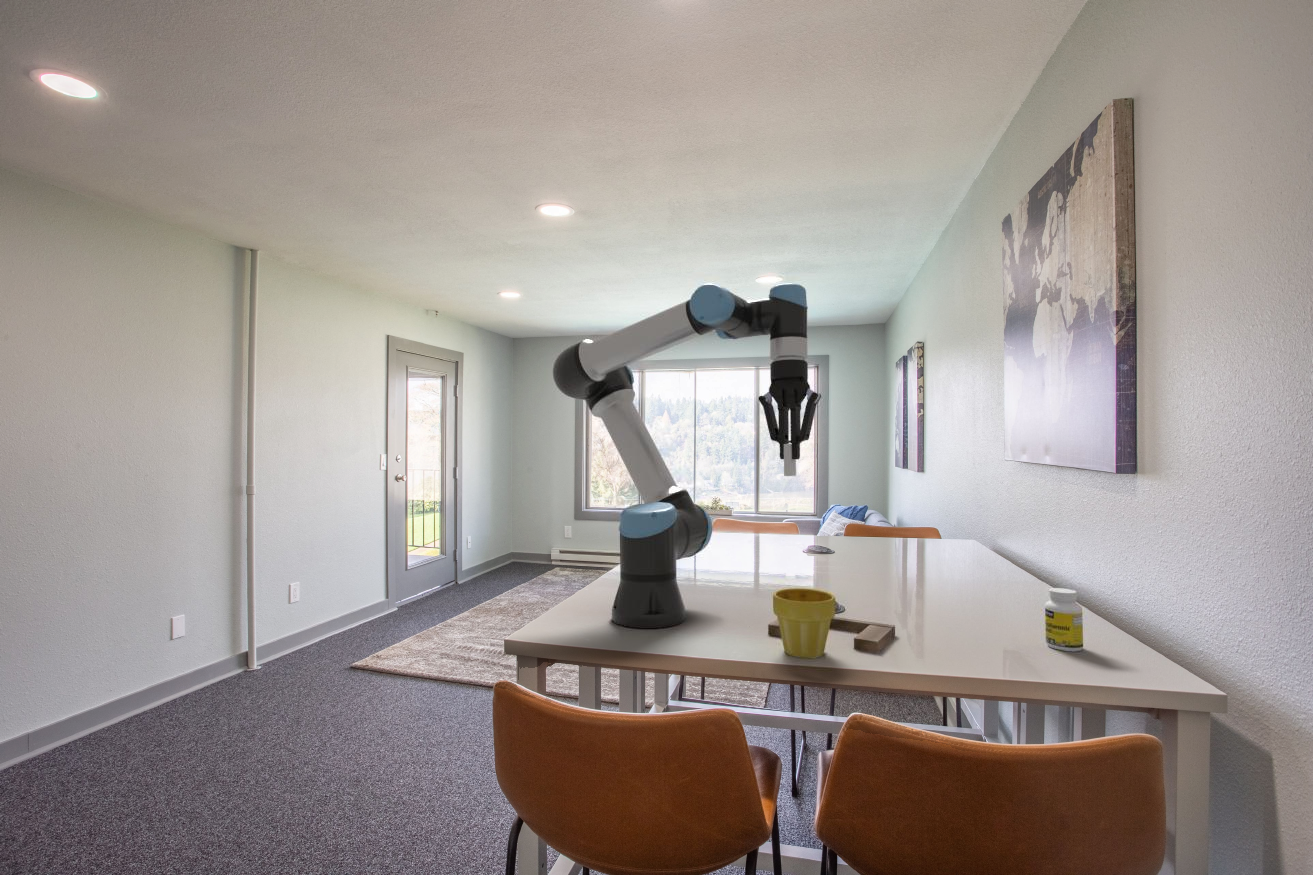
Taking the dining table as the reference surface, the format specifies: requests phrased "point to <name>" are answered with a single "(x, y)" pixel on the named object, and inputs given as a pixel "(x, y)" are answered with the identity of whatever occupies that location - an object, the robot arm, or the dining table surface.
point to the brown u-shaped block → (868, 639)
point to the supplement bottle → (1063, 620)
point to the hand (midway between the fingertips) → (790, 475)
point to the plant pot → (804, 620)
